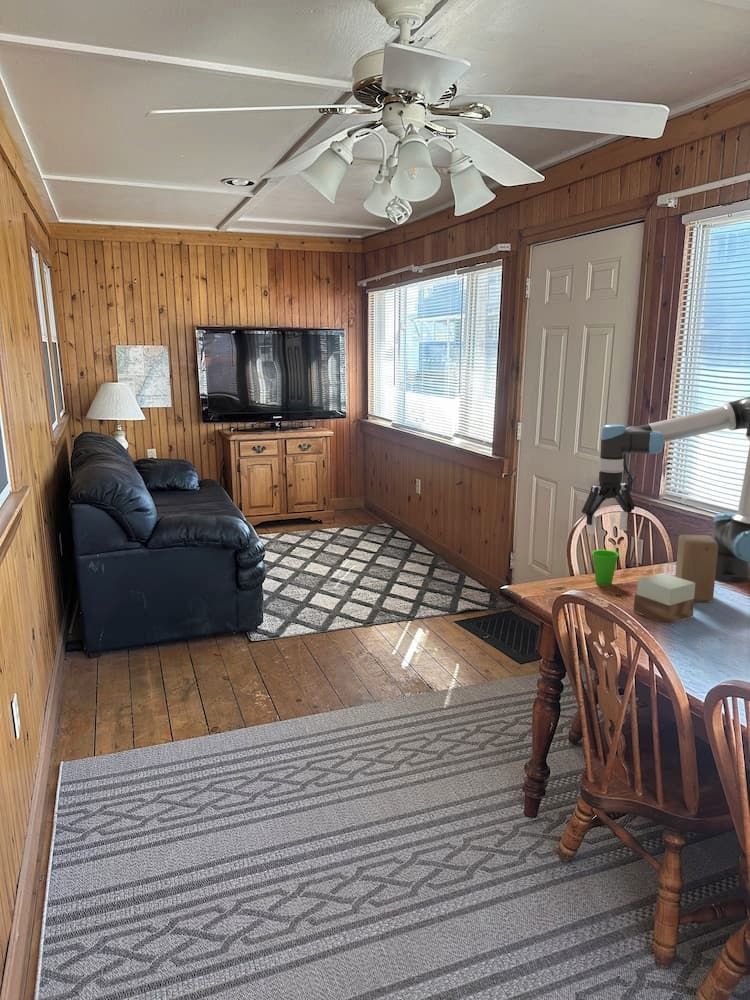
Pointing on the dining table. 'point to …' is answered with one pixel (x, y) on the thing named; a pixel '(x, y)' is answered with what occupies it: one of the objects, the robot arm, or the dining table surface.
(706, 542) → the wooden block
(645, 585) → the tower top
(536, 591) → the dining table surface
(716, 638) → the dining table surface
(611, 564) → the cup
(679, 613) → the tower base
